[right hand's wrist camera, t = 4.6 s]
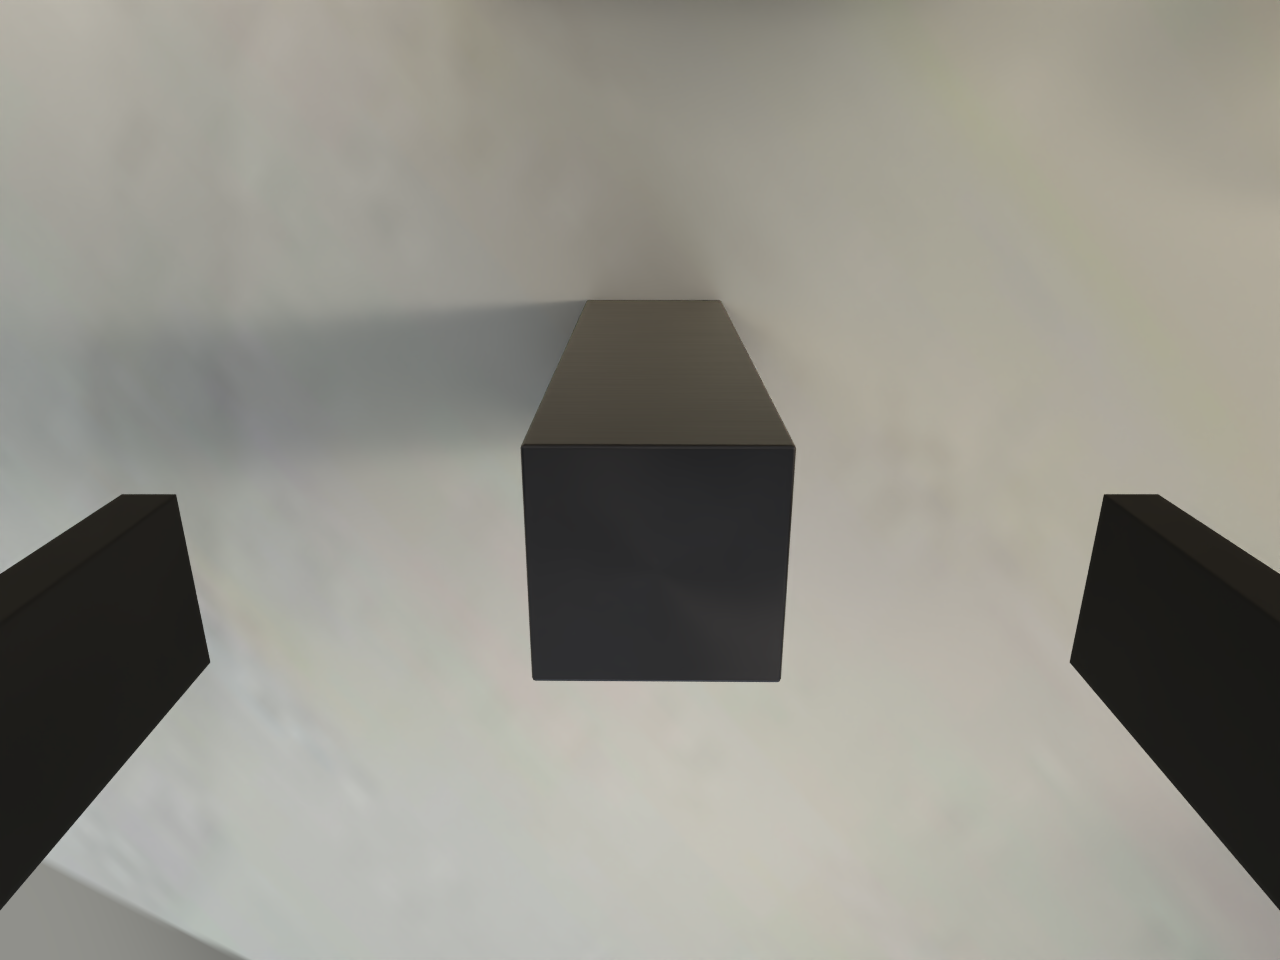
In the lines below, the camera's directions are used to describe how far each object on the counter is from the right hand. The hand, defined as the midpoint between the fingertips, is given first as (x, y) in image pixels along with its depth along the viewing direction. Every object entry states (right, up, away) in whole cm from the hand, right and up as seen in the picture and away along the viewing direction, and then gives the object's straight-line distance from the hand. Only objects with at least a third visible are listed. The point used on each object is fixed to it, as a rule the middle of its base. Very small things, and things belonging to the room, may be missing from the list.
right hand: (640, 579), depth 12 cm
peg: (0, +5, +14) cm, 15 cm away
